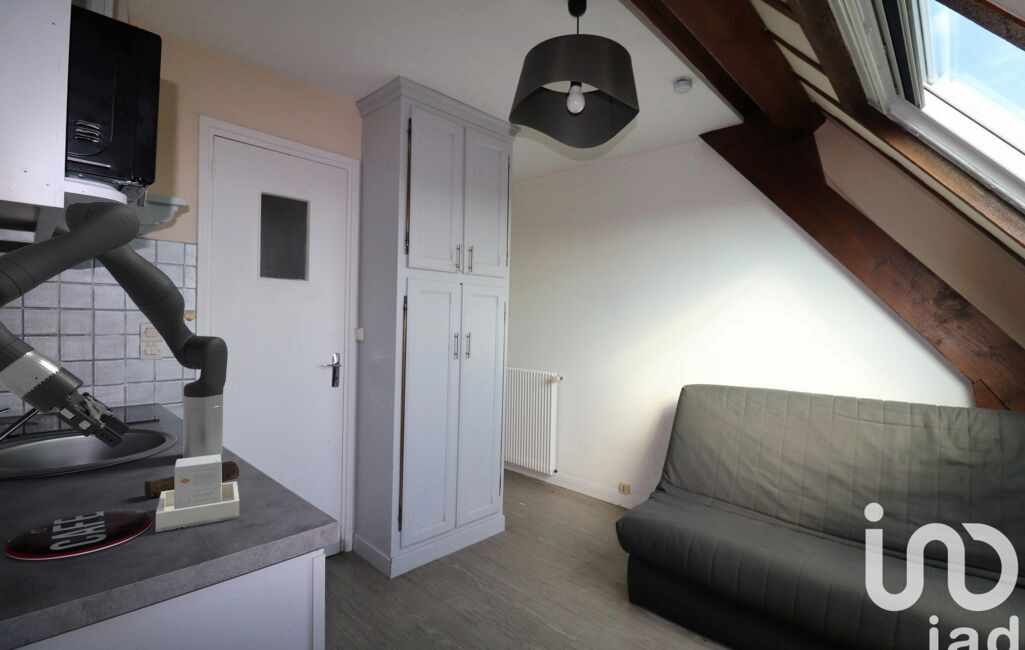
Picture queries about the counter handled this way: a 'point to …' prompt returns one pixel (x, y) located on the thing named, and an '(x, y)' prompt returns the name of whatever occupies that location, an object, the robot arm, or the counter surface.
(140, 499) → the counter surface
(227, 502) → the tray
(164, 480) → the hand tool
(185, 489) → the small box
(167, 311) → the robot arm
